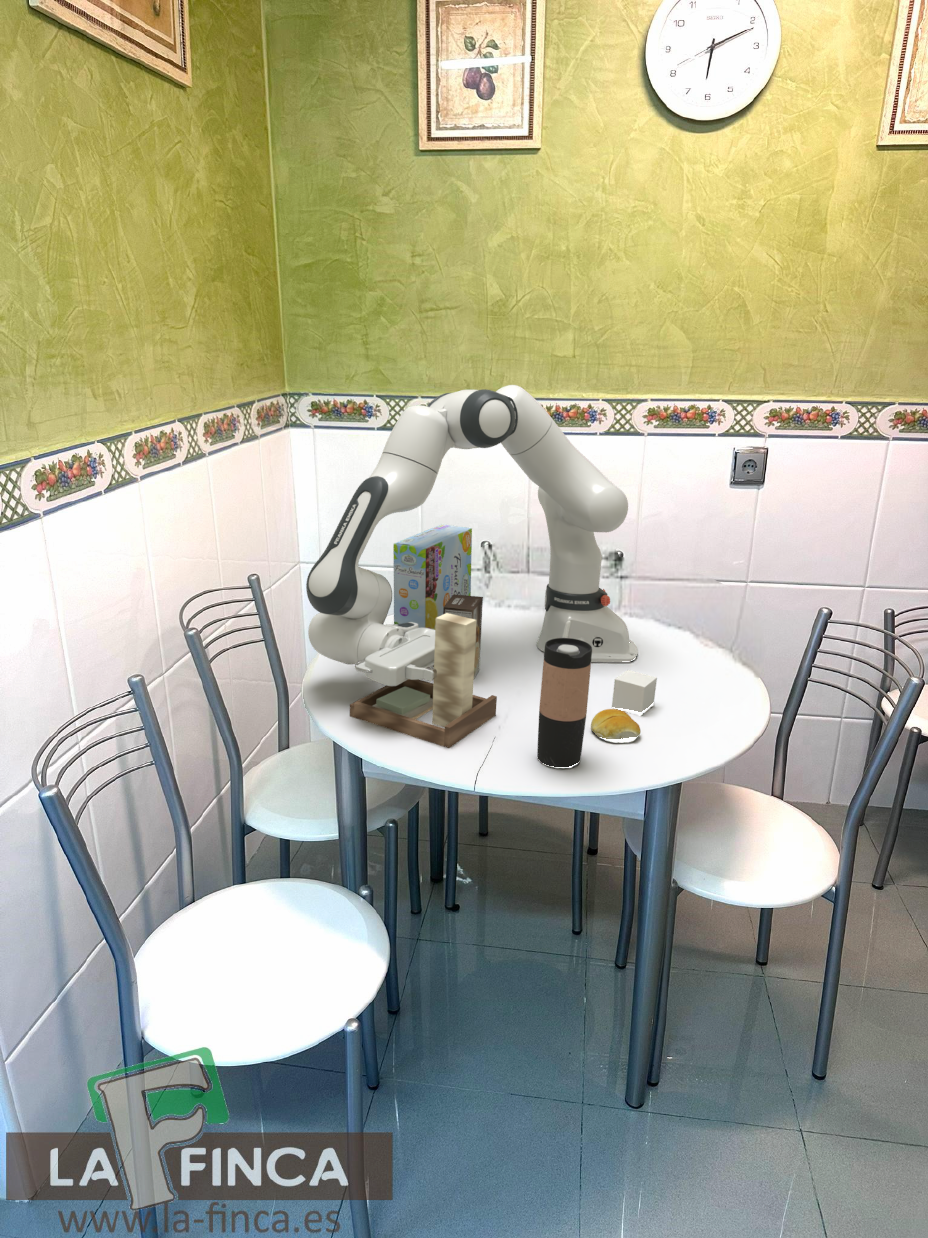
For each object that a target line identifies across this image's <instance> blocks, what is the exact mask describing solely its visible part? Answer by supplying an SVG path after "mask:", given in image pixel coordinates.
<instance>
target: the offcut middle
mask: <svg viewBox="0 0 928 1238" xmlns="http://www.w3.org/2000/svg"><path fill="white" fill-rule="evenodd" d="M373 706H374V707H377V708H380V709H383V710H386V711H390V710H388V709H385V708H382V707H380V706H377V705H376V704H375V705H373ZM432 706H433V699H432V698H430V701H429V702H427V703H425V704H423V705H421V706H419V707H417V708H415V709H412V710H410V711H408V712H406V713H404V714H402V716H406V717H409V718H413V717H415V716H416V715H418V714H420V713H422V712H423V711H425V710H427V709H429V708H430V707H432ZM390 712H393V711H390ZM393 713H396V712H393ZM396 714H398V713H396ZM399 715H401V714H399Z"/></svg>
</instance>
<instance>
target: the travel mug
mask: <svg viewBox="0 0 928 1238" xmlns="http://www.w3.org/2000/svg"><path fill="white" fill-rule="evenodd" d="M543 653H544V654H543V664H542V675H541V676H542V677H541V683H540V686H541V687H540V696H539V697H540V698H539V710H538V730H537V732H538V733H537V752H536V753H537V757H538V758H537V757H536V758H537V760H538V759H539V760H540V761H541V762H542V763H544V764H546V765H549V766H554V767H569V766H572V765H574V764H576V763H578V762H579V761H580V762H581V759H582V751H583V742H584V736H585V729H586V728H585V727H586V721H587V713H588V712H587V711H588V703H589V702H588V701H589V691H590V689H589V688H590V677H591V668H592V667H591V665H592V662H591V658H592V647H591V645H590V644H588V643H587V642H584V641H581V640H578V639H572V638H555V639H551V640H549V641H547V642H546V644H545V650H544V652H543ZM539 760H538V761H539ZM542 763H541V764H542Z"/></svg>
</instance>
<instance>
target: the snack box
mask: <svg viewBox="0 0 928 1238" xmlns="http://www.w3.org/2000/svg"><path fill="white" fill-rule="evenodd" d="M472 539H473V528H472V527H466V526H465V527H464V526H458V525H452V524H442V523H441V524H438V525H436V526H434V527H432V528H429V529H427V530H424V531H421V532H419V533H417V534H414V535H412V536H409V537H406V538H404V539H402V540H400V541H397V542H394V543H393V553H392V554H393V624H402V623H408V622H414V623H417V624H418V626H419V628H430V629H434V630H435V625H436V618H437V617H439V616H441V615H443V607H444V606H445V605H446V603H447V602H448V601H449V599H450V598H451V597H452V595H454V594H455V595H467V596H472V595H471V593H472V592H471V590H472V588H471V587H472V553H473V552H472V550H473V549H472V545H473V540H472Z"/></svg>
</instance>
